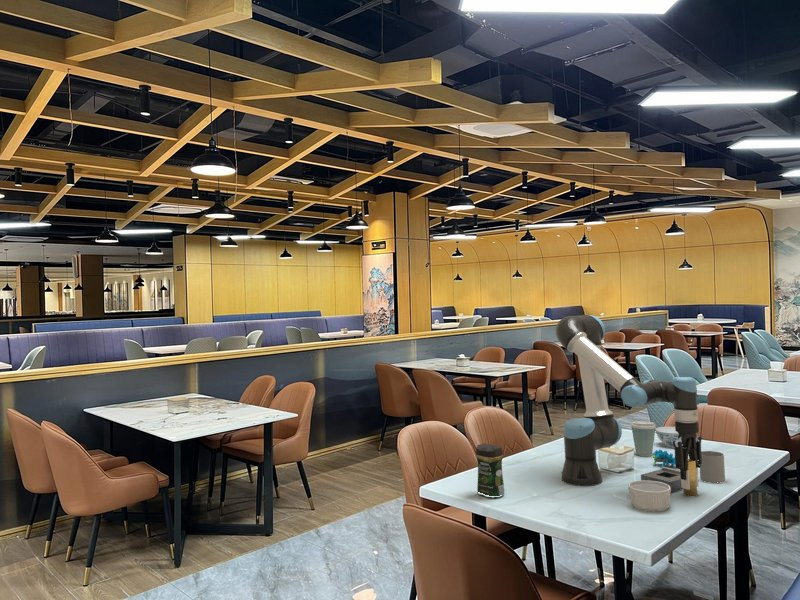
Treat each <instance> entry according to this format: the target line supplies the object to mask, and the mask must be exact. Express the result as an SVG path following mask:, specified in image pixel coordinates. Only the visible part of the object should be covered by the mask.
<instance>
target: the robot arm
mask: <svg viewBox="0 0 800 600" xmlns="http://www.w3.org/2000/svg"><path fill="white" fill-rule="evenodd" d="M605 328H606V327H605V325H604V323H603V321H602V320H601V319H600V318H599V317H597V316H596V315H592V314H589V315H588V314H579V315H568V316H567V315H566V316H564V317H563V318H561V319H560V320H559V321H558V323H557V324H556V326H555V337H556V338H557V341H558V342H559V343H560V345H561V346H562V347H563V348H565V350H567V351H568V352H569V353H575V355H576V356H577V359H578V366H579V373H580V378H581V384H582V390H583V398H584V404H585V413H584V414H583V417H577V418H572V419H571V418H570V419H568V420H567V421H565V423H564V424H563V433H562V434H563V440H564V445H563V446H564V458H565V459H564V463H563V468H562V471H561V475H560V476H561V481H562V482H563V481H564V482H563V483H565V482H566V483H565V484H568V485H571V484H572V485H573V486H578V485H580V487H585V486H586V487H587V486H589V487H590V486H591V487H592V486H596V485H597V486H598V485H601V484H602V483H603V478H602V472H600V468H599V465H598V463H597V451H598V450H601V449H604V448H605V449H606V448H609V447H610V448H611V447H613V446H615V445H616V444H618V442H619V441H620V440H621V437H622V434H623V429H622V425H621V423H620V421H618V419H617V418H615V416H614V412H613V411H612V410H610V409H609V404H608V397H607V393H606V386H605V380H606V382H607V383H609V385H611V386H612V387H613V388H614V389H616V391H618V392H619V393H620V396H621V397H620V398H621V399H622V402H623V404H625V405H626V406H628V407H631V408H635V407H636V408H637V407H643V406H646V405H651V404H655V403H660V402H661V403H672V404H673V411H674V412H673V413H674V414H673V415H674V416H673V417H674V420H675V421H674V427H675V430H676V432H678V433H679V435H678V440H677V441H673V445H674V457H675V465H674V466H675V469H676V470H680V475H681V488H684V489H688V490H689V489H690V482H689V470H687V466H688V459H692V460H695V461H696V479H697V488H698V487H699V469H700V467H701V464H702V457H701V451H702V441H703V439H702V437H703V436H697V434H698V433H699V431H700V426H699V422H698V421H699V413H698V409H699V408H698V394H697V393H698V389H697V387H698V386H697V381H696V379H695V378H694V377H692V376H675V377H673V378H672V381H664V380H663V381H662V380H655V379H651V380H649V379H646V380H644V381H642V382H640V381H639V380H638V379H637V378H636V377H634V376H633V375H631V374H630V373H629V371H627V370H626V369H625V368H623V367H622V366H621V365H620V364H619V363H617V362H616V361H615V360H614V359H613V358H611V357H610V356H609V355H608V354H607V353H606V352H604V351H603V350H602V347H603V345H602V340H603V339H604V337H605V335H606V329H605Z"/></svg>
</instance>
